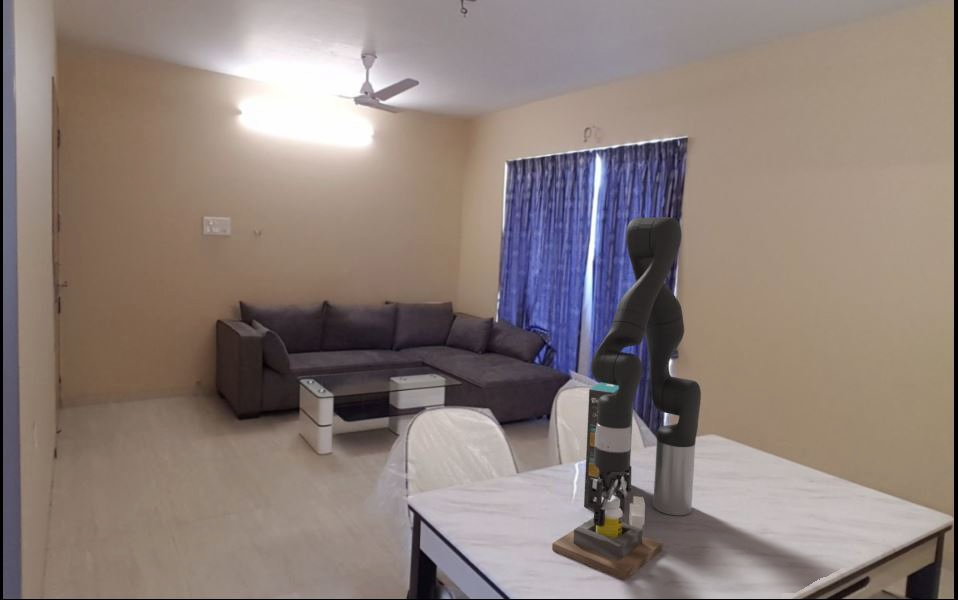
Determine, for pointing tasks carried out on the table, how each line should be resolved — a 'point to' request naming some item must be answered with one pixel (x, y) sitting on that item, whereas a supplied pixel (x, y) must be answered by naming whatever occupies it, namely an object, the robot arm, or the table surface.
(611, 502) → the supplement bottle
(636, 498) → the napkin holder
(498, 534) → the table surface
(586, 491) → the cake mix box
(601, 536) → the wooden board with frame
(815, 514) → the table surface
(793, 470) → the table surface
